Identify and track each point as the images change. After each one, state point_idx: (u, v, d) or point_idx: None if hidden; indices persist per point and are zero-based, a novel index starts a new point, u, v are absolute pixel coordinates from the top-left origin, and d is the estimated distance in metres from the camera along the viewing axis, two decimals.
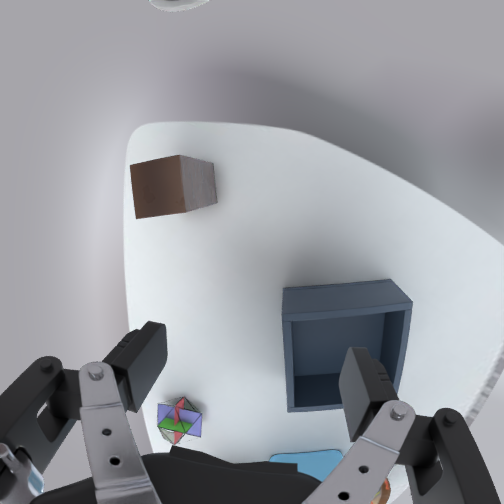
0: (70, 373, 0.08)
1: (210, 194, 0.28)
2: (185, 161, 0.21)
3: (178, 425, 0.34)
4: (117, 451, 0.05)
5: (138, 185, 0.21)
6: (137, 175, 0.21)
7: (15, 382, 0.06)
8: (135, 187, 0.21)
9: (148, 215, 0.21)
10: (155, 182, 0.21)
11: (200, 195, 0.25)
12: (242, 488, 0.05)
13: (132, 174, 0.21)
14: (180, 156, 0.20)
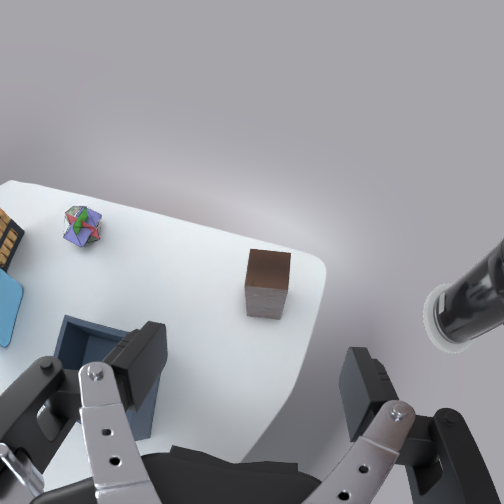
0: (71, 373, 0.08)
1: (255, 310, 0.35)
2: (282, 294, 0.30)
3: (79, 223, 0.40)
4: (117, 451, 0.05)
5: (273, 256, 0.31)
6: (281, 257, 0.31)
7: (15, 382, 0.06)
8: (273, 253, 0.31)
9: (250, 258, 0.31)
10: (272, 268, 0.30)
11: (255, 301, 0.33)
12: (242, 488, 0.05)
13: (283, 253, 0.31)
14: (286, 291, 0.29)
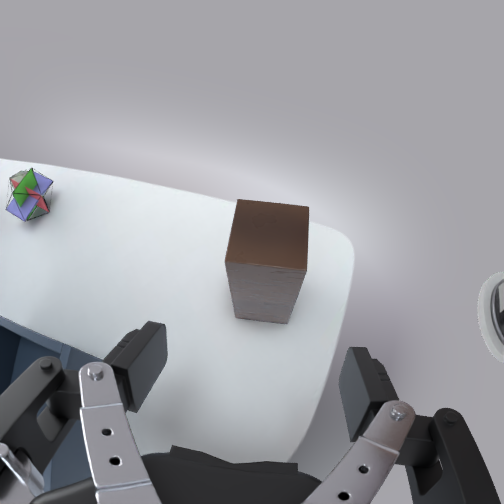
0: (70, 373, 0.08)
1: (247, 309, 0.22)
2: (295, 279, 0.16)
3: (24, 191, 0.27)
4: (117, 451, 0.05)
5: (279, 211, 0.17)
6: (292, 212, 0.17)
7: (15, 382, 0.06)
8: (278, 207, 0.17)
9: (236, 214, 0.17)
10: (276, 231, 0.16)
11: (247, 294, 0.19)
12: (242, 488, 0.05)
13: (296, 207, 0.17)
14: (304, 272, 0.15)
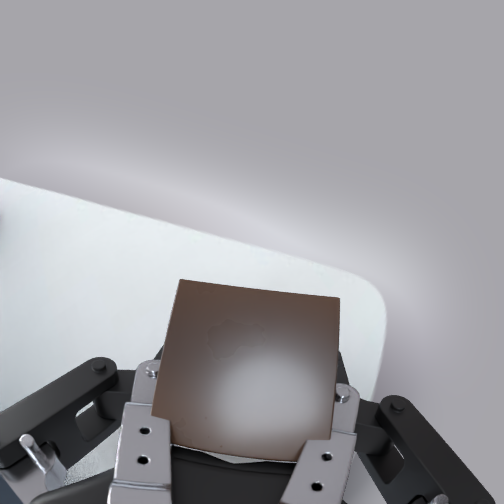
0: (123, 373, 0.08)
1: None
2: None
3: None
4: (148, 451, 0.05)
5: (272, 313, 0.07)
6: (303, 316, 0.07)
7: (61, 378, 0.07)
8: (269, 302, 0.07)
9: (174, 320, 0.07)
10: (264, 371, 0.06)
11: None
12: (242, 488, 0.05)
13: (311, 301, 0.07)
14: None
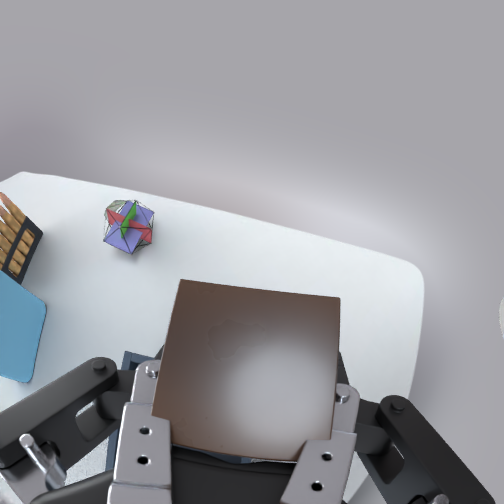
0: (123, 373, 0.08)
1: None
2: None
3: (127, 223, 0.33)
4: (149, 451, 0.05)
5: (272, 313, 0.07)
6: (304, 316, 0.07)
7: (61, 378, 0.07)
8: (270, 301, 0.07)
9: (174, 320, 0.07)
10: (264, 371, 0.06)
11: None
12: (242, 488, 0.05)
13: (311, 300, 0.07)
14: None
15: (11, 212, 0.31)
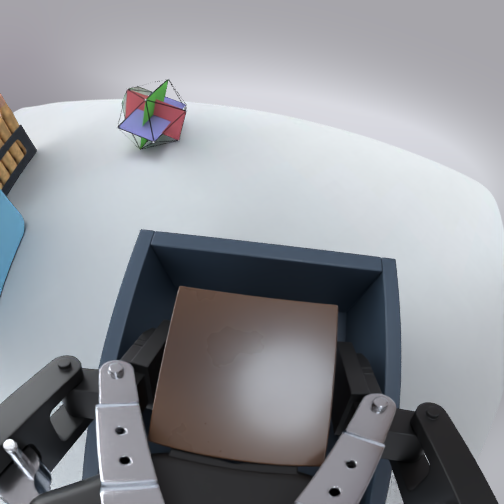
0: (89, 372, 0.08)
1: None
2: None
3: (152, 105, 0.23)
4: (128, 450, 0.05)
5: (271, 321, 0.07)
6: (302, 324, 0.07)
7: (31, 380, 0.06)
8: (268, 309, 0.07)
9: (173, 327, 0.07)
10: (262, 377, 0.07)
11: None
12: (242, 488, 0.05)
13: (309, 308, 0.07)
14: None
15: (3, 116, 0.21)
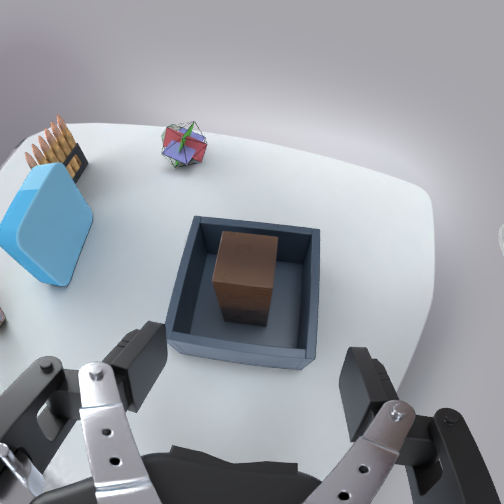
0: (70, 373, 0.08)
1: (233, 315, 0.27)
2: (265, 294, 0.21)
3: (184, 139, 0.39)
4: (117, 451, 0.05)
5: (254, 241, 0.22)
6: (265, 242, 0.22)
7: (15, 382, 0.06)
8: (253, 237, 0.22)
9: (221, 243, 0.22)
10: (251, 257, 0.22)
11: (231, 303, 0.24)
12: (242, 488, 0.05)
13: (267, 237, 0.22)
14: (271, 289, 0.20)
15: (65, 136, 0.36)
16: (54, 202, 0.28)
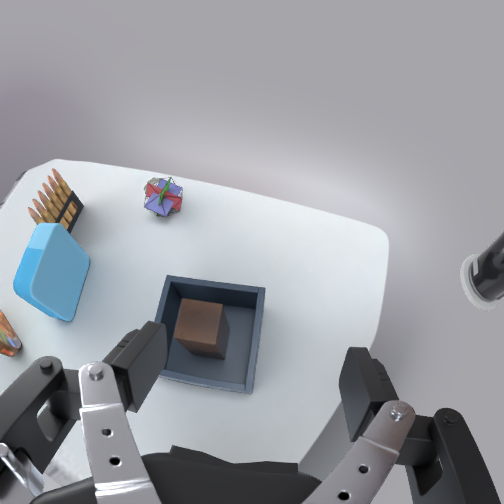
0: (70, 373, 0.08)
1: (197, 352, 0.34)
2: (212, 346, 0.28)
3: (163, 193, 0.46)
4: (117, 451, 0.05)
5: (205, 307, 0.29)
6: (212, 308, 0.29)
7: (15, 382, 0.06)
8: (204, 304, 0.30)
9: (181, 308, 0.29)
10: (202, 320, 0.29)
11: (192, 347, 0.31)
12: (242, 488, 0.05)
13: (214, 304, 0.30)
14: (214, 344, 0.28)
15: (61, 186, 0.43)
16: (57, 257, 0.35)
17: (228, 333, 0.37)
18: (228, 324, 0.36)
